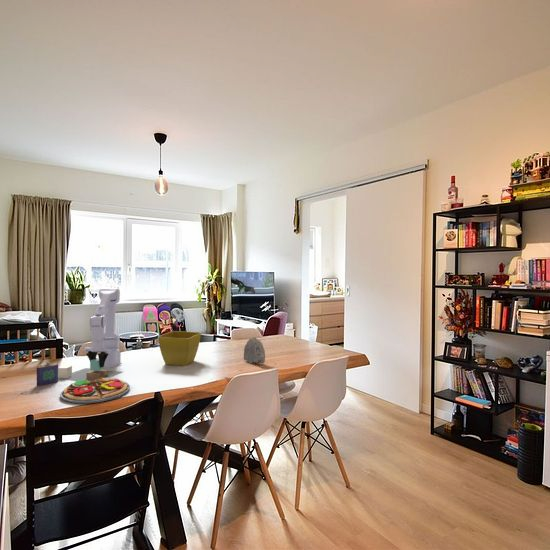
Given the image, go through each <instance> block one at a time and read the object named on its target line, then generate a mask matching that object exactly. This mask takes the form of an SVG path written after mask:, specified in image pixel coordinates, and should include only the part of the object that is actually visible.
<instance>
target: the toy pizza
mask: <svg viewBox="0 0 550 550" xmlns="http://www.w3.org/2000/svg"><path fill="white" fill-rule="evenodd" d="M130 389H131V385H130V384H129V383H127V382H126V381H124V380H122V379H118V378H114V377H110V378H101V379H97V380H93V381H88V380H78V381H74V382H73V383H71V384H69V385H67V386H66V387H65V388H64V389H63V390H62V391H61V392H60V394H59V395H60V398H61V399H63V400H64V401H65V402H68V403H73V404H92V403H101V402H105V401H106V402H107V401H110V400H111V401H112V400H114V399H117V398H119V397H121V396H123V395H125V394H126V393H127V392H128V391H129V390H130Z"/></svg>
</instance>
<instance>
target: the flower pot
mask: <svg viewBox="0 0 550 550" xmlns="http://www.w3.org/2000/svg"><path fill="white" fill-rule="evenodd" d="M201 335H202V332H199V331H198V332H197V331H179V330H172V331H170V332H167V333H164V334H161V335H158V336H157V340H158V346H159V350H160V354H161V356H162V359H163V362H164V364H165V365H171V366H180V367H181V366H184V367H185V366H187V365H189V364H190V363H192V362H194V361H195V359H196V357H197V354H198V353H197V352H198V351H199V347H200V343H201V342H200V341H201Z"/></svg>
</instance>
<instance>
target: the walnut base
mask: <svg viewBox="0 0 550 550" xmlns="http://www.w3.org/2000/svg"><path fill="white" fill-rule="evenodd" d="M108 370H109V369H102V370H99V371H93V370H92V371H90V372H87V373H86V379H94V380H97V379H101V378H105V377H107V376H108Z"/></svg>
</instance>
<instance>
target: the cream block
mask: <svg viewBox="0 0 550 550" xmlns="http://www.w3.org/2000/svg"><path fill="white" fill-rule="evenodd" d="M72 373H73V365H61V366H58V378H68V377H70V376H72Z"/></svg>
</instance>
